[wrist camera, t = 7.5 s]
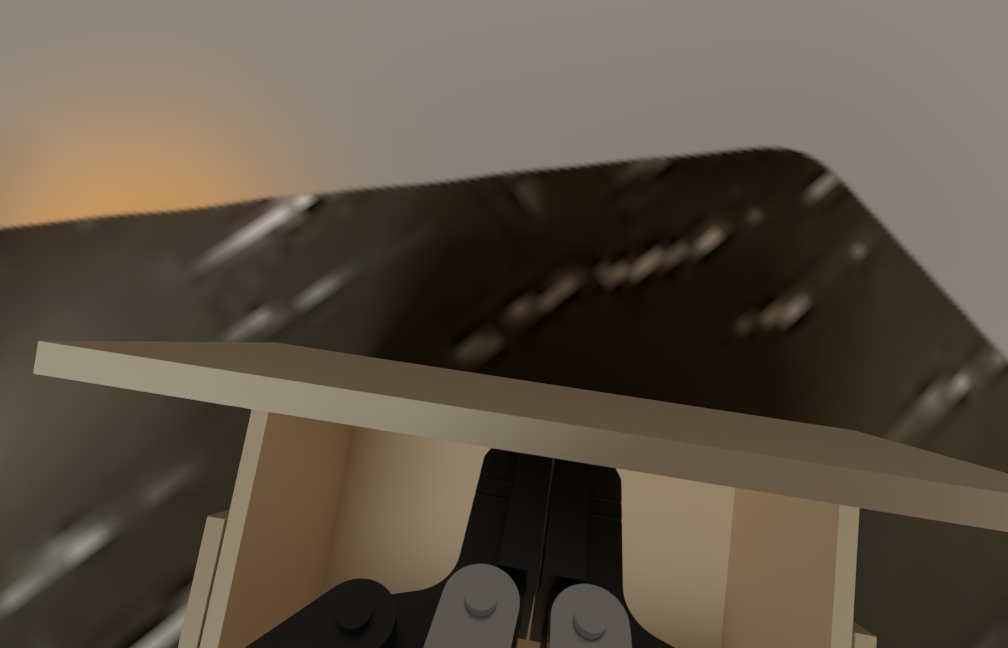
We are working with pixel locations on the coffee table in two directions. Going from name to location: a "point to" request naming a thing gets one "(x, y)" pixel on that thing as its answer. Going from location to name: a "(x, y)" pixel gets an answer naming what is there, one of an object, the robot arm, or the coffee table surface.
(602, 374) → the coffee table surface
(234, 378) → the flap
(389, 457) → the carton
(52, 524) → the coffee table surface
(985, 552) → the coffee table surface
